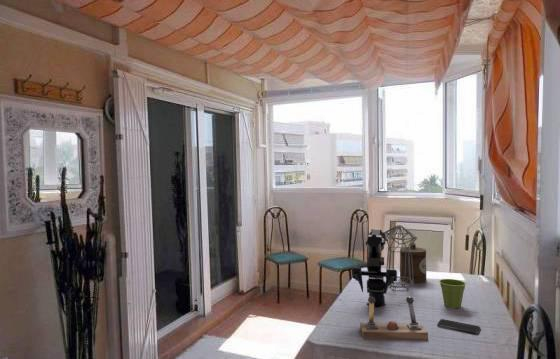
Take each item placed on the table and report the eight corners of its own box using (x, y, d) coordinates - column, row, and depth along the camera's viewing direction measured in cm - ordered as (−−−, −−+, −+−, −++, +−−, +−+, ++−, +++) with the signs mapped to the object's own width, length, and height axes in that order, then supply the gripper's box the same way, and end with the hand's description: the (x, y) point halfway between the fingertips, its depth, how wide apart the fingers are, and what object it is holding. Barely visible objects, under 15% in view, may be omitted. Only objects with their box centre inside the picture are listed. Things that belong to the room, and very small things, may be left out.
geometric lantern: (410, 285, 211) (410, 223, 210) (417, 294, 195) (418, 227, 194) (381, 284, 213) (382, 222, 211) (386, 293, 197) (387, 227, 196)
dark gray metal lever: (368, 324, 148) (368, 296, 152) (375, 325, 147) (375, 296, 151) (367, 324, 146) (367, 295, 149) (374, 325, 145) (375, 296, 148)
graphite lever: (409, 325, 147) (404, 296, 150) (415, 324, 147) (410, 296, 151) (412, 325, 144) (407, 296, 148) (419, 324, 144) (414, 296, 148)
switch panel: (360, 328, 152) (359, 318, 151) (420, 329, 150) (420, 318, 150) (363, 338, 143) (363, 327, 142) (428, 339, 141) (427, 327, 141)
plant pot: (470, 311, 169) (469, 286, 169) (442, 309, 172) (441, 285, 172) (462, 302, 181) (462, 279, 181) (436, 301, 183) (436, 278, 183)
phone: (477, 333, 144) (436, 324, 153) (477, 336, 144) (436, 327, 153) (480, 326, 150) (441, 318, 159) (480, 329, 150) (441, 321, 159)
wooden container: (428, 284, 212) (427, 245, 212) (401, 282, 216) (400, 244, 216) (424, 277, 227) (424, 240, 227) (399, 275, 230) (398, 240, 230)
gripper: (351, 248, 163) (349, 281, 153) (396, 250, 158) (397, 284, 147) (353, 262, 171) (351, 294, 160) (396, 264, 165) (397, 297, 155)
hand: (373, 292), depth 156 cm, fingers open, 9 cm apart
